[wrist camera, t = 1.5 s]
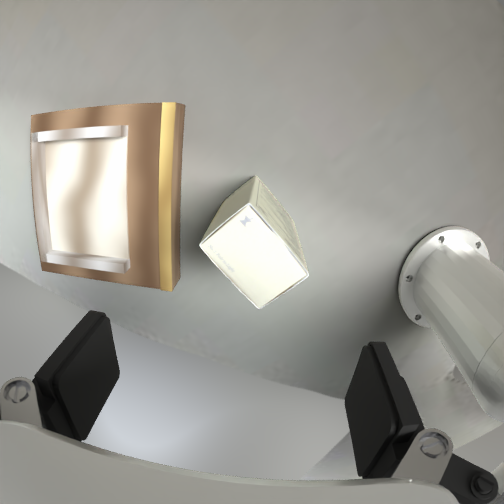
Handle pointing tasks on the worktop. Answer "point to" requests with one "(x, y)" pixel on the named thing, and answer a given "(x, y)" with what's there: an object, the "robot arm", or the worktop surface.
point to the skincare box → (256, 244)
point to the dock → (109, 192)
